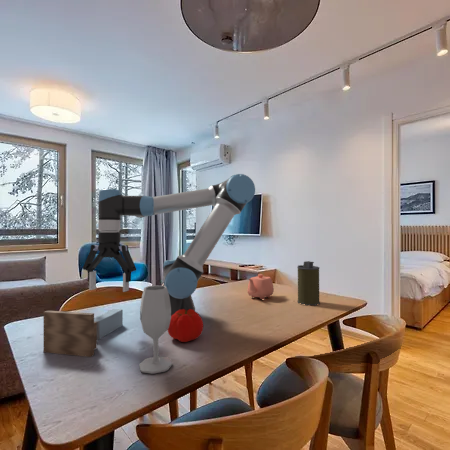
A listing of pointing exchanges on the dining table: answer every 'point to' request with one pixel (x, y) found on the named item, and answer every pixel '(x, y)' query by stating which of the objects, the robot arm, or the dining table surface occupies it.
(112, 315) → the rail
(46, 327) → the panel
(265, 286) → the teapot
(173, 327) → the tomato
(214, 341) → the dining table surface
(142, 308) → the wineglass
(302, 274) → the canister
